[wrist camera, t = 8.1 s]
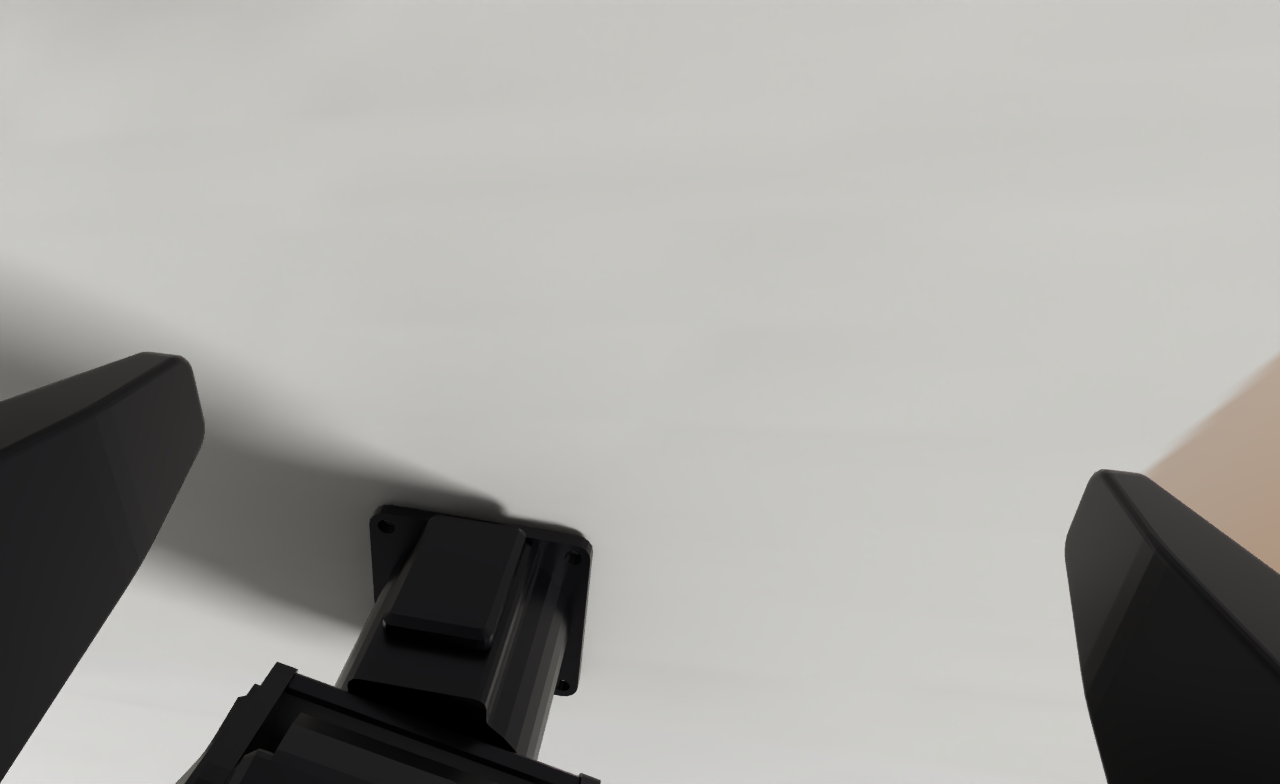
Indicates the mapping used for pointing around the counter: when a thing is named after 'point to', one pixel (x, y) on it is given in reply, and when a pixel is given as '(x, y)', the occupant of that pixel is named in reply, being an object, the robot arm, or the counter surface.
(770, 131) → the counter surface
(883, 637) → the counter surface
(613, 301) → the counter surface
